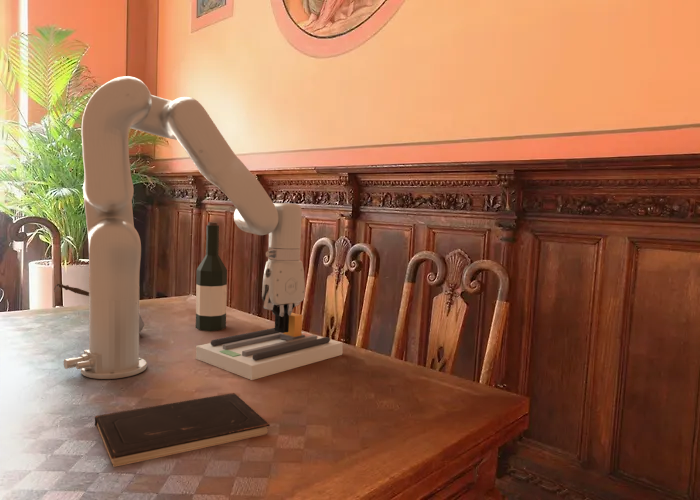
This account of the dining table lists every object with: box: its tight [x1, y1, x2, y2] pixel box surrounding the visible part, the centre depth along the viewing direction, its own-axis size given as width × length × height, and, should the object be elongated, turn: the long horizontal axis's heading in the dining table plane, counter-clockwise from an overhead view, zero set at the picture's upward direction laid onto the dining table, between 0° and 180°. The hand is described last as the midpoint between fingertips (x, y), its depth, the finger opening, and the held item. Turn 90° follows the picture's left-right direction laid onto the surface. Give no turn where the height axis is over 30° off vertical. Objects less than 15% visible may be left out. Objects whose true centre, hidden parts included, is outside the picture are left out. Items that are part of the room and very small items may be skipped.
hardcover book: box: [94, 392, 271, 467], centre depth 85 cm, size 16×23×2 cm
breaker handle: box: [279, 312, 305, 341], centre depth 131 cm, size 4×5×6 cm
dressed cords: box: [210, 327, 330, 360], centre depth 126 cm, size 23×16×1 cm
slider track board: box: [195, 331, 344, 381], centre depth 127 cm, size 28×20×4 cm
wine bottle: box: [195, 221, 228, 332], centre depth 151 cm, size 8×8×30 cm
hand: (281, 331), depth 128 cm, fingers closed
